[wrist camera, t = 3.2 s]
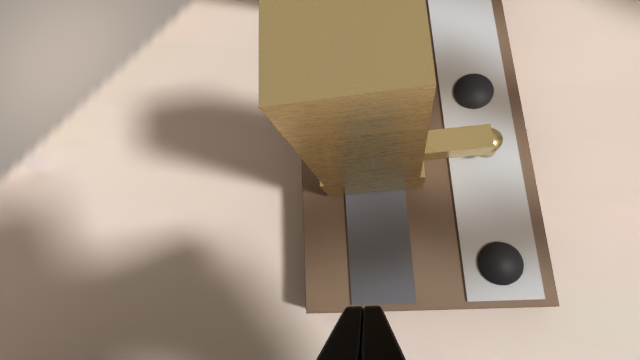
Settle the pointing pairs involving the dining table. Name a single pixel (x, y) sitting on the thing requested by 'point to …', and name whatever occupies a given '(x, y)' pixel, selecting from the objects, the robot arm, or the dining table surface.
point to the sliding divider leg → (358, 92)
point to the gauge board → (442, 198)
